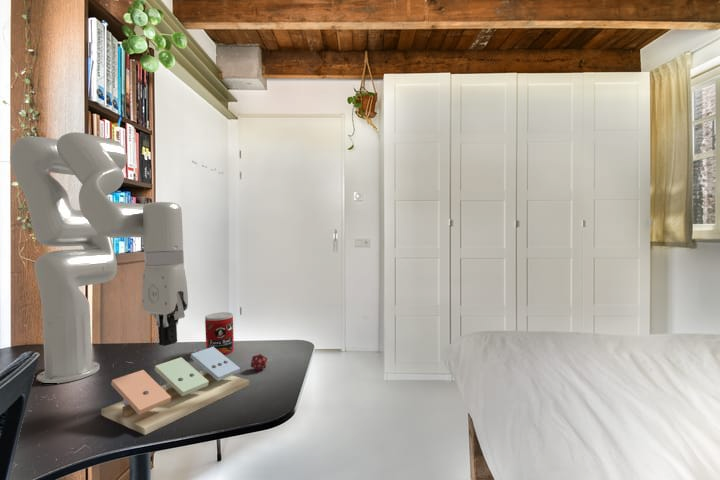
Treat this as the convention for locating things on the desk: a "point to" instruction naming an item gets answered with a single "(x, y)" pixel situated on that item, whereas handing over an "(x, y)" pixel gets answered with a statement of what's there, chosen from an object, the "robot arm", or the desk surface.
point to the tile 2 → (181, 376)
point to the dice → (258, 362)
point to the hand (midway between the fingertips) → (168, 343)
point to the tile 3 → (215, 363)
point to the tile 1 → (140, 391)
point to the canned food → (220, 332)
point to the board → (174, 405)
